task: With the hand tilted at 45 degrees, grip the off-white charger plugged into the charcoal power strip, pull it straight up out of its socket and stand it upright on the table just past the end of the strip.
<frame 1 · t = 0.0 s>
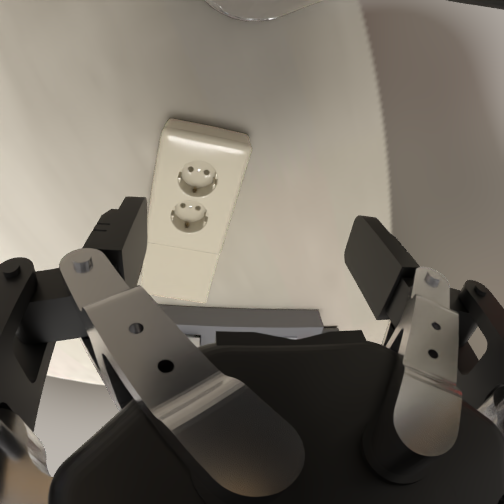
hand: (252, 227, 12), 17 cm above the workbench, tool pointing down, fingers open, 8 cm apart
electrical outlet: (188, 210, 31), on the workbench
power strip: (231, 328, 42), on the workbench
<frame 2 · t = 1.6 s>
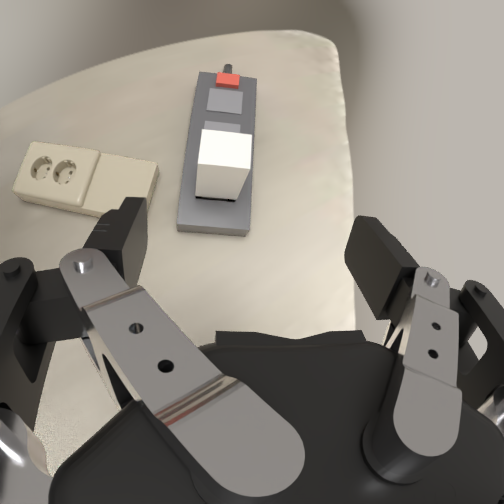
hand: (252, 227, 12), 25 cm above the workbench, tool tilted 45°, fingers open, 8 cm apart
electrical outlet: (86, 187, 36), on the workbench
power strip: (218, 151, 40), on the workbench
charger: (214, 193, 39), resting in power strip
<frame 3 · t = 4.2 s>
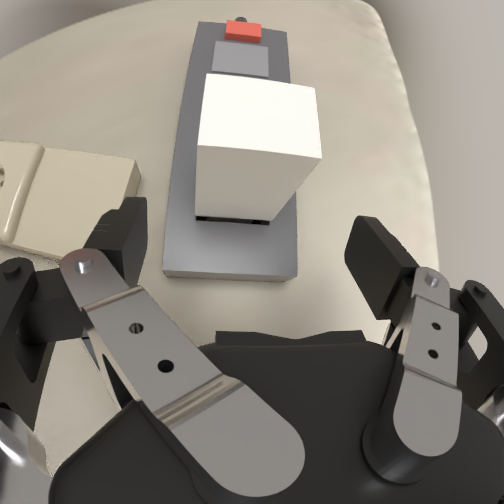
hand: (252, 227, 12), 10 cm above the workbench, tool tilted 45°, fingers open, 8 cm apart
electrical outlet: (29, 205, 20), on the workbench
power strip: (232, 137, 24), on the workbench
charger: (228, 208, 23), resting in power strip
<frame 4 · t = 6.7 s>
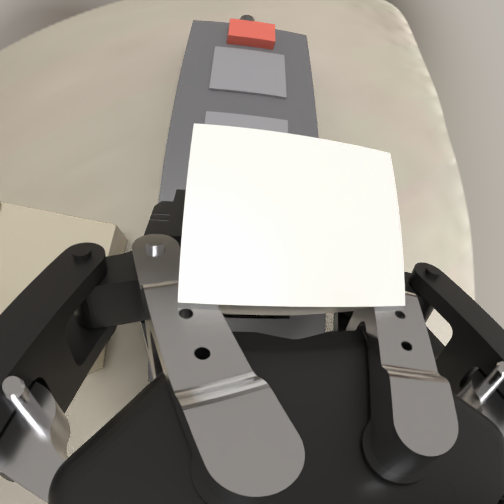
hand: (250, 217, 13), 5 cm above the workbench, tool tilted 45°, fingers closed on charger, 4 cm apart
power strip: (237, 179, 19), on the workbench
charger: (233, 281, 17), resting in power strip, touching gripper
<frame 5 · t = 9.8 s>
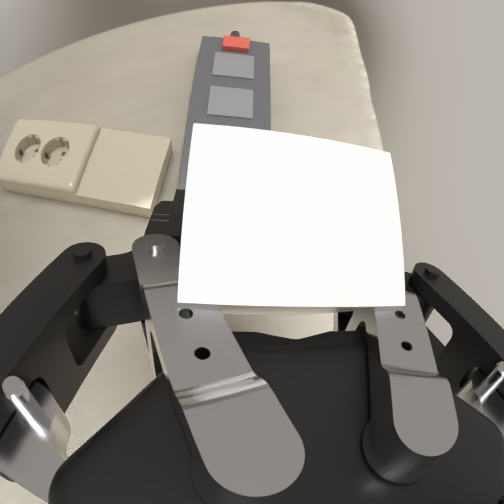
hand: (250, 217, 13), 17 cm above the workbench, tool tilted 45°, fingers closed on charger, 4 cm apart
electrical outlet: (83, 172, 29), on the workbench
power strip: (227, 122, 32), on the workbench
charger: (233, 281, 17), point 11 cm above the workbench, touching gripper
when the fingers open (7 cm above the workbench, at t = 12.8 s): charger drops 1 cm, on the workbench.
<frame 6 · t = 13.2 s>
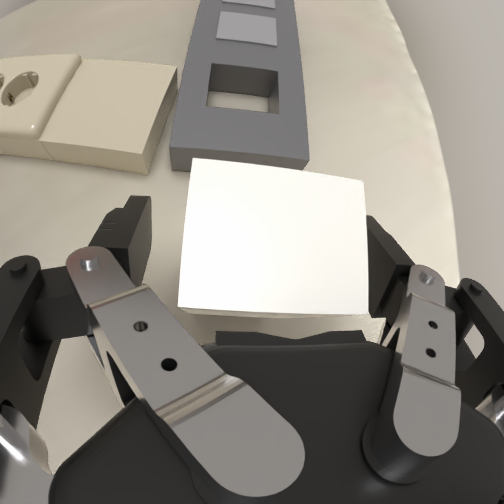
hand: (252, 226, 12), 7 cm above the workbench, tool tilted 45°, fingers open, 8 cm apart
electrical outlet: (56, 120, 19), on the workbench
power strip: (240, 58, 22), on the workbench
charger: (230, 285, 19), on the workbench
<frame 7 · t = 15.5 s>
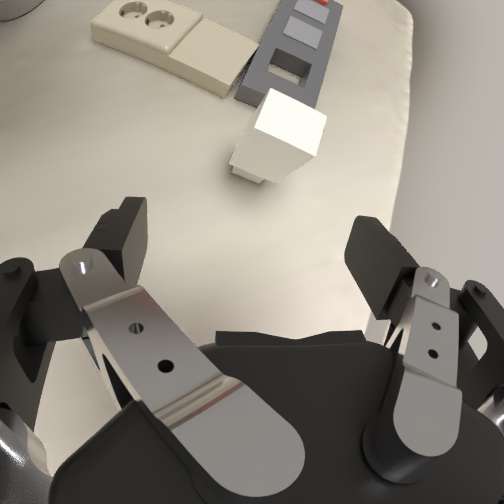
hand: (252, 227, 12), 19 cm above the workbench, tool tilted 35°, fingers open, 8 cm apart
electrical outlet: (170, 47, 30), on the workbench
power strip: (292, 48, 34), on the workbench
charger: (248, 167, 32), on the workbench
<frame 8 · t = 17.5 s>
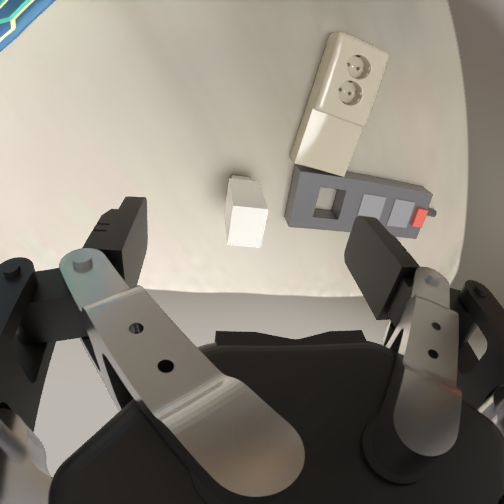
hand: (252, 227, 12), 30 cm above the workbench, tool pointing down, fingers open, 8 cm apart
electrical outlet: (333, 102, 38), on the workbench
power strip: (359, 199, 46), on the workbench
charger: (239, 186, 43), on the workbench
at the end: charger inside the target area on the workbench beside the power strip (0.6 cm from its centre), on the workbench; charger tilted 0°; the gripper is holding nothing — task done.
